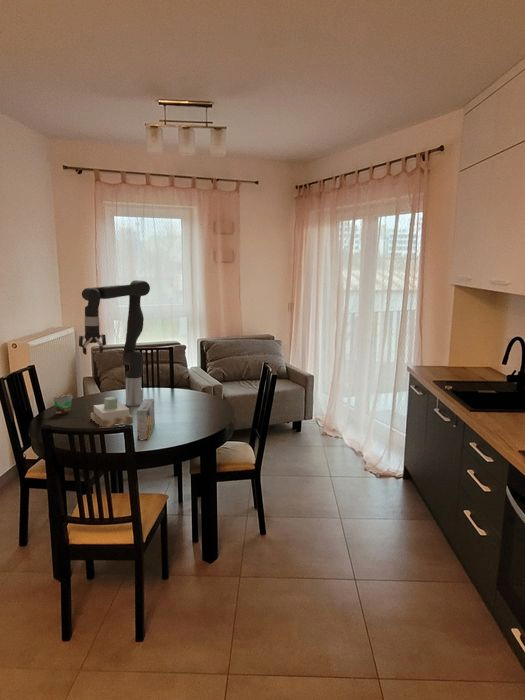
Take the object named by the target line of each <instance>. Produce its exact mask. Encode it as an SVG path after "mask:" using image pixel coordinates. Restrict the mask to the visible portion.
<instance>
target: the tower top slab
mask: <svg viewBox="0 0 525 700" xmlns="http://www.w3.org/2000/svg"><path fill="white" fill-rule="evenodd" d="M93 412H94V413H95V414H96V415H97V416H98V417H100V418H101V419H102V420H109V419H116V418H122V417H129V416H130V415H131V414H130V413H131V412H130V408H129V407H127V405H126V406H125V405H124V404H123V403H121V401H119V402H118V401H117V408H113V409H107V408H105V407H104V403H102V404H94V405H93Z"/></svg>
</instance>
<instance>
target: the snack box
mask: <svg viewBox="0 0 525 700" xmlns="http://www.w3.org/2000/svg"><path fill="white" fill-rule="evenodd" d="M155 419H156V418H155V398H143V402H142V404H141V405H139V406H138V408H137V410H136V422H137V425H136V427H137V440H138V439H148V438H149V439H150V437H151V435H150V434H152V433H153V431H152V430H154V429H155V427H154V426H156V423H155V422H156V421H155ZM153 428H154V429H153ZM151 432H152V433H151ZM149 436H150V437H149ZM149 439H148V440H149Z"/></svg>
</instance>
